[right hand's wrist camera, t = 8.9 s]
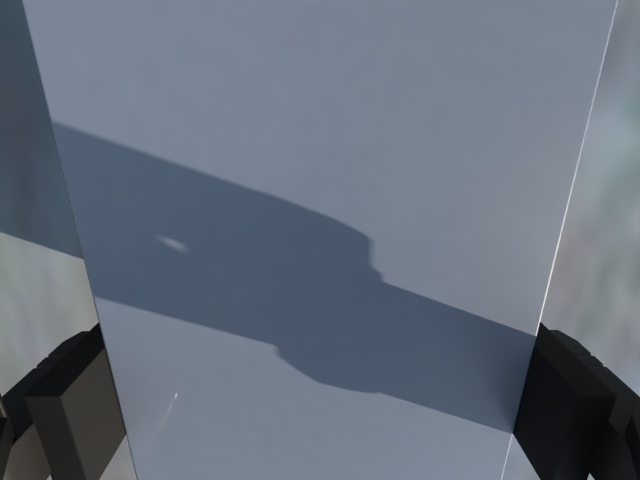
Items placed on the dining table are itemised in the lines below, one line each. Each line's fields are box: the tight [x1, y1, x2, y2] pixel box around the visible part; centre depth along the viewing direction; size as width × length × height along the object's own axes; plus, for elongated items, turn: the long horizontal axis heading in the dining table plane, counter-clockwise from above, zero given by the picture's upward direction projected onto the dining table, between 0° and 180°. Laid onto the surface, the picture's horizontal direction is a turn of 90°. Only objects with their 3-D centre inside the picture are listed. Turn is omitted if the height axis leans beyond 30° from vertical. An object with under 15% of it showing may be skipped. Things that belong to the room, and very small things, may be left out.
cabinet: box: [21, 0, 618, 480], centre depth 12 cm, size 20×10×10 cm, turn 0°
